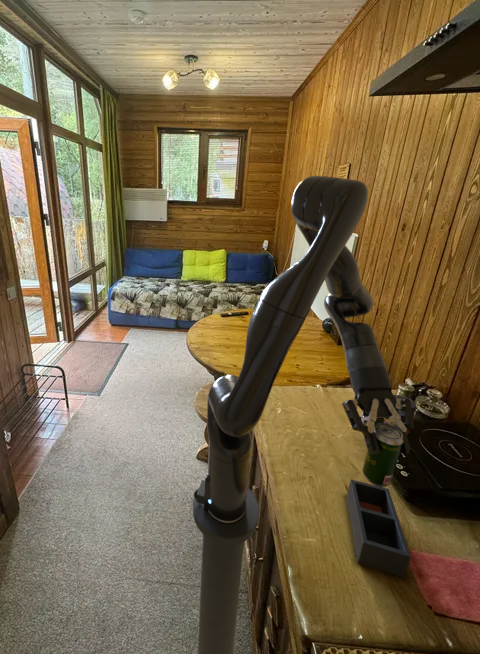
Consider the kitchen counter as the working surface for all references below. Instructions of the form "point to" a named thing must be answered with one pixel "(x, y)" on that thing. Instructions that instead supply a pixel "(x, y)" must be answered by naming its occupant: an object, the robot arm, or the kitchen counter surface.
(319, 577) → the kitchen counter surface
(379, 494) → the box
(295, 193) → the robot arm
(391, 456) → the beer can
